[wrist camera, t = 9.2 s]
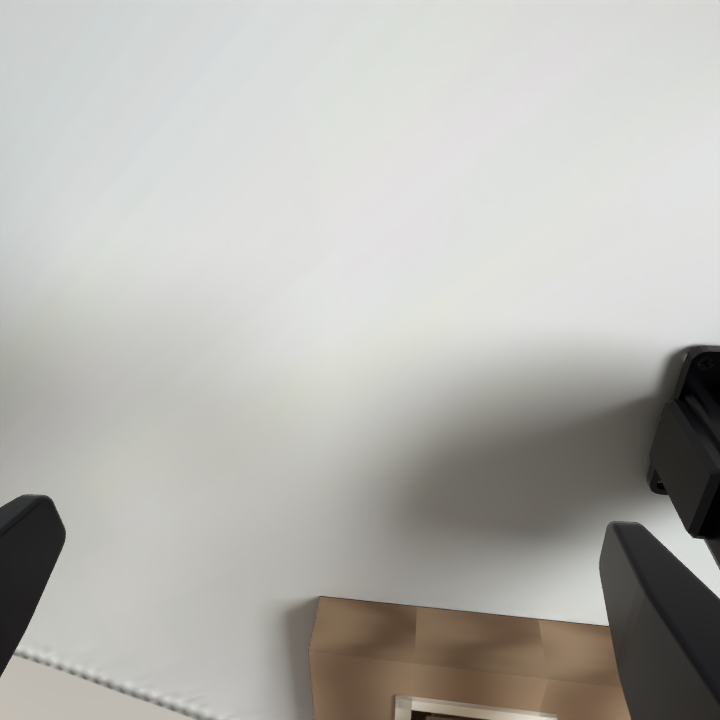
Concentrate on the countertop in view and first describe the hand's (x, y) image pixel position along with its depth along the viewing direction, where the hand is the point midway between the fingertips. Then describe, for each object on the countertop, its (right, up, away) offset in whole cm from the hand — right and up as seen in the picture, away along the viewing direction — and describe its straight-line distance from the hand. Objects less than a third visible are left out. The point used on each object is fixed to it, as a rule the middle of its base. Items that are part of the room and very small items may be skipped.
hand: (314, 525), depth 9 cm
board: (+7, -16, +22) cm, 28 cm away
